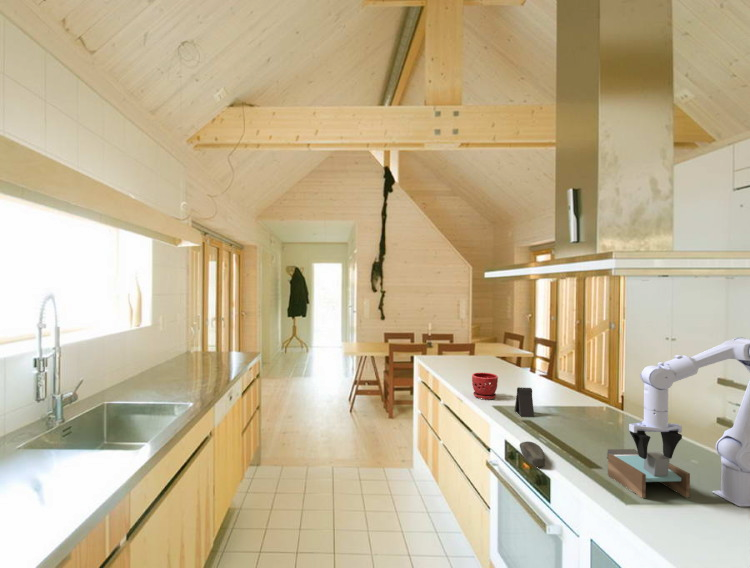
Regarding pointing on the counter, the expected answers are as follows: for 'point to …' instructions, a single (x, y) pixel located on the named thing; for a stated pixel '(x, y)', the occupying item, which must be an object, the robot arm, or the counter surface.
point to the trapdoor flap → (641, 465)
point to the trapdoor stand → (644, 477)
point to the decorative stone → (533, 453)
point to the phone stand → (524, 402)
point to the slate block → (656, 464)
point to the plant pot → (484, 385)
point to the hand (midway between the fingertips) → (655, 457)
